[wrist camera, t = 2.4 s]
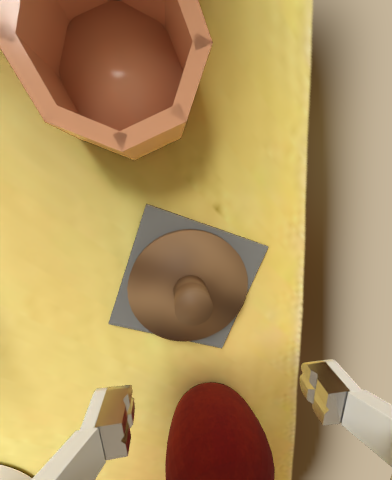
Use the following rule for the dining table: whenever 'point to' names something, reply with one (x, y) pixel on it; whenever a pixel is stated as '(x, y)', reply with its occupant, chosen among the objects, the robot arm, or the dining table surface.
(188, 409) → the apple
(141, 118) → the bowl
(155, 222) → the mat
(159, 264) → the lid
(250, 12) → the dining table surface
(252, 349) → the dining table surface
